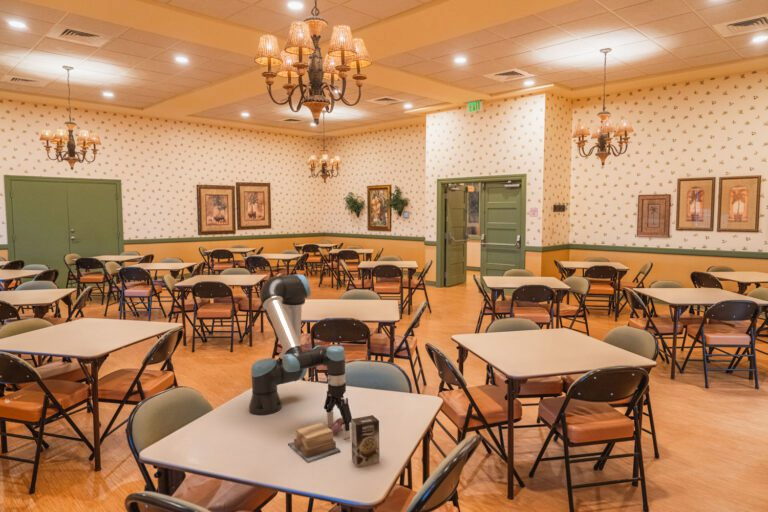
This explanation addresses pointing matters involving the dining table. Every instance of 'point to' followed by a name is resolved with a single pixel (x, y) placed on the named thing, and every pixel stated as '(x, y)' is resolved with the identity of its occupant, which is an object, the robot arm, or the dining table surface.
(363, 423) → the coffee box
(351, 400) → the dining table surface
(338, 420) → the video game controller
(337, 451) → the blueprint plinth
